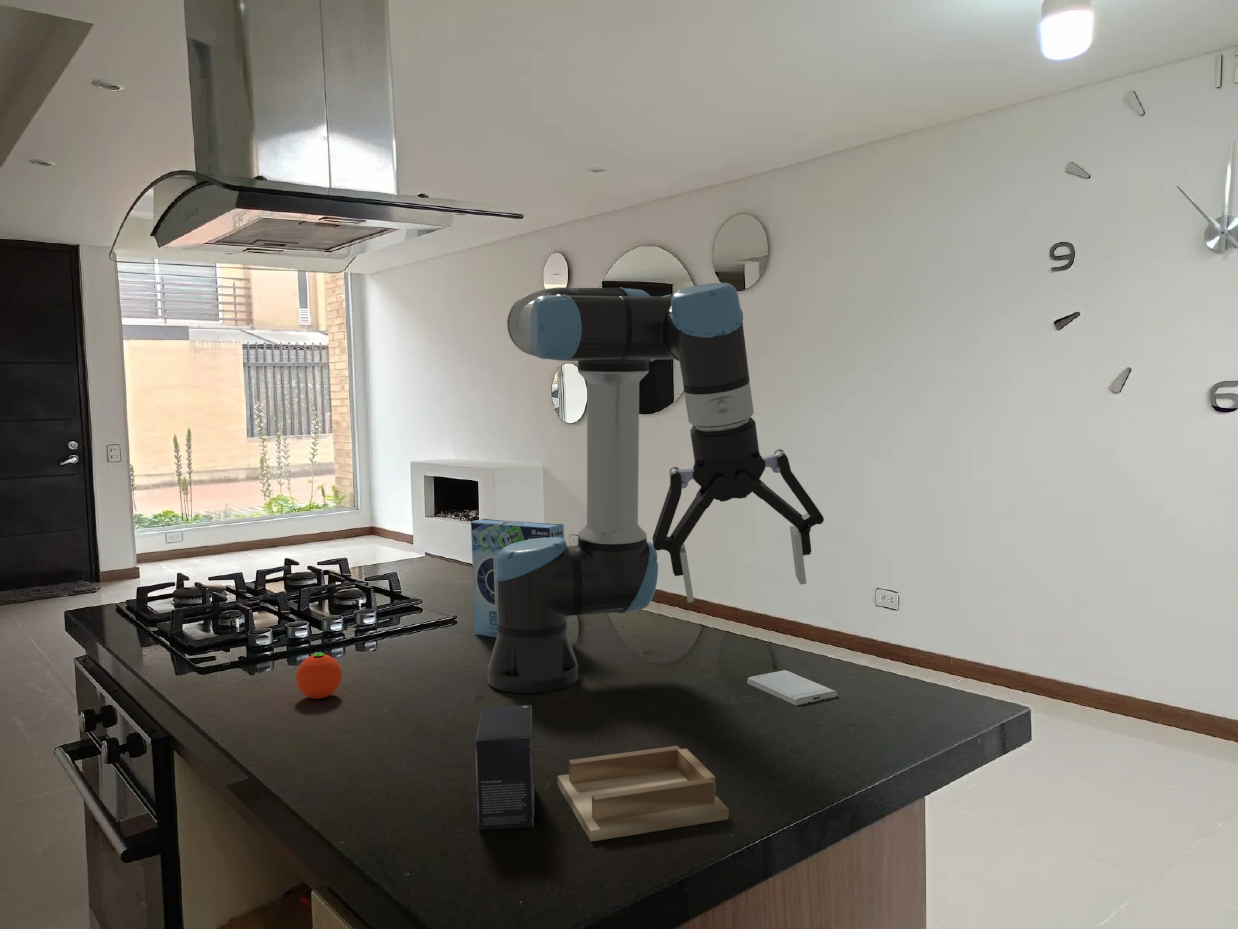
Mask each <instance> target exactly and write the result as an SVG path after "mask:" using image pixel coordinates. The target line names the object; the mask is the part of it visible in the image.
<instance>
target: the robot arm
mask: <svg viewBox="0 0 1238 929" xmlns="http://www.w3.org/2000/svg"><path fill="white" fill-rule="evenodd" d="M743 320H744V314H743V310H742V308H741V303H740V298H739V294H738V290H737V289H736V287H735V286H734V285H732V284H731V283H728V282H720V283H717V282H711V283H710V282H709V283H704V284H698V285H694V286H693V285H692V286H689V287H686V288H681V289H679V290H677V291H676V292H674V294H673V293H672V294H668V295H667V294H666V295H664V296H663V295H662V296H651V295H650V294H649V293H648V292H646V291H645V290H642V289H635V288H624V287H566V286H565V287H563V286H562V287H550V288H545V289H540V290H536V291H533V292H530V293H528V294H524V295H523V296H521V297H520V298H519V299H517V301H515V302H514V304H513V305H512V307H511V308H510V311H509V313H508V316H507V321H506V324H507V325H506V326H507V330H508V331H507V332H508V335H509V337H510V340H511V341H512V342H513V344H514V346H515V347H516V348H518V349H519V350H520V351H522V352H523V353H525V354H527V355H529V356H534V357H536V358H538V359H541V360H550V361H559V362H561V361H562V362H564V361H567V362H569V361H570V362H572V361H574V362H575V361H576V362H577V373H578V374H579V375H580V376H581V377H582V378H583V379H584V380H585V381H586V384H587V386H586V390H587V391H586V394H587V396H586V397H587V398H586V399H587V400H586V404H587V406H586V409H587V410H586V413H587V414H586V415H587V416H586V424H587V427H586V443H587V444H586V452H587V453H586V490H587V491H586V524H585V526H583V528H582V529H581V530H580V531H579V532H578V534H577V545H568V543H567V542H566V540H565V538H564V539H563V538H559V537H550V538H546V537H544V538H536V539H530V540H525V541H520V542H517V543H513V544H510V545H508V546H506V547H504V548H503V549H501V550H500V552H499V553H498V555H497V559H496V575H495V580H496V583H497V638H496V639H495V643H494V645H493V650H492V653H491V656H490V660H489V663H488V666H487V683H488V685H489V686H491V688H494V689H495V690H499V691H503V692H508V693H516V694H538V693H539V694H540V693H548V692H553V691H554V692H555V691H558V690H563V689H565V688H568V687H570V686H572V685H573V684H576V682H578V681H579V664H578V660H577V658H576V655H575V652H574V649H573V646H572V643H571V640H570V637H569V635H568V617H570V616H572V617H573V616H585V615H589V616H590V615H599V614H600V615H602V614H615V613H616V614H625V613H629V612H635V611H636V612H637V611H641V610H644V609H646V608H647V607H648V606H649V605H650V603H651V602H652V600H653V599H654V595H655V593H656V588H657V583H658V575H659V574H658V573H659V563H658V562H657V561H658V553H657V552H658V551H661V550H663V551H666V552H668V553H669V555H670V561H671V568H672V573H673V575H674V576H675V577H680V576H682V577H683V583H684V589H685V594H686V595H685V596H686V601H687V604H688V603H693V602H695V600H694V599H695V598H694V594H693V587H692V586H693V585H692V580H691V574H690V568H689V560H688V555H687V549H686V545H685V541H687V539H688V537H689V536H690V534H691V533H692V531H693V529H694V528H695V527H696V525H697V524H698V523H699V520H700V519H701V518H702V516H703V514H704V513H705V511H706V510H707V509H709V507H710V506H711V505H712V504H713V502H714V500H716V501H719V502H721V503H722V502H727V501H730V500H732V499H746V498H747V496H749V495H751V494H754V495H756V496H757V498H759V499H760V500H763V501H764V502H765V503H766V504H768V505H769V506H770V507H771V508H772V509H773V510H775V511H776V512H777V513H778V514H780V515H781V516H782V517H783V518H784V519H786V520H787V521H788V522H789V523H791V524H792V525H791V526H789V532H790V538H791V547H792V549H791V550H792V555H793V557H792V558H793V563H794V565H793V566H794V571H795V573H794V574H795V577H796V578H797V581H798V584H799V585H806V584H807V578H806V568H805V561H804V556H809V555H811V553H812V544H811V535H810V532H811V529H812V528H813V526H816V525H821V524H823V523H824V522H825V521H824V520H825V518H824V516H823V514H822V512H820V511H821V510H819V508H818V506H817V505H816V504H815V503H814V501H813V500H812V498H811V497H810V495H809V494H808V493H807V491H806V489H804V487H803V485H802V484H801V483H800V481H798V479H797V477H796V476H795V474H794V473H793V472H792V469H791V465H790V461H789V458H788V455H787V454H786V453H785V451H784V450H783V449H782V448H778V449H776V450H775V451H774V453H772V454H769V455H766V456H762V455H761V452H760V448H759V440H758V432H757V424H756V421H755V419H753V418H752V416H753V415H754V413H755V411H754V404H753V396H752V390H751V382H750V372H749V366H748V358H747V357H748V356H747V349H746V340H745V333H744V332H745V331H744V323H743ZM656 360H674V361H675V360H676V361H679V365H680V366H679V367H680V372H681V378H682V385H683V393H684V394H683V395H684V399H685V407H686V413H687V420H688V423H689V424H690V425H692V426H691V428H690V430H689V432H690V438H691V446H692V452H693V453H692V454H693V459H694V465H693V468H686V469H685V468H683V469H680V468H679V467H677V466H672V467H671V468H670V469H669V487H668V491H667V494H666V496H665V498H664V502H663V505H662V508H661V512H660V514H659V517H658V520H657V523H656V526H655V530H654V531H653V533H652V542H650V541H648V536H647V535H648V534H647V532H646V531H645V530H644V529H643V528H642V527H641V526H640V525H639V460H640V459H639V451H640V450H639V446H640V444H639V442H640V440H639V439H640V433H639V432H640V428H639V427H640V382H641V381H642V379H644V377H646V375H648V373H649V371H650V369H649V368H650V367H649V362H650V363H651V362H653V361H656ZM766 468H770V469H771V470H772V473H775V474H777V473H778V474H779V473H780V475H781V477H782V479H783V481H784V482H785V484H787V486H788V487H789V489H790V490H791V492H792V493H793V494H794V496H795V497H796V498H797V500H798V501H799V503H800V504H801V506H802V507H803V509H804V510H805V512H806V513H805V514H802V513H800V512H799V511H797V509H795V508H794V507H793V506H791V505H790V504H789V503H788V502H787V501H786V500H785V499H783V498H782V497H781V496H779V495H778V494H777V493H776V492H775V491H774V490H773V489H772V488H770V487H769V486H767V484H766V483H765V482H764V481H763V480H761V477H762V476H763V474H764V472H765V470H766ZM691 480H693V481H695V483H697V485H699V486H700V488H699V489H698V491H697V492H696V495H695V497H694V499H693V500H692V502H691V503H690V505H689V507H688V508H687V509H686V511H685V513H684V514H683V516H682V517H681V518H680V520H679V522H678V523H677V525H676V527H675V528H674V529H673V531H672V532H671V534H670V536H669V535H668V534H669V532H670V530H671V527H672V522H673V519H674V517H675V515H676V511H677V508H678V506H679V502H680V500H681V497H682V496H681V495H682V489H686V488H687V487H688V485H689V482H690V481H691Z"/></svg>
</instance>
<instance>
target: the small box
mask: <svg viewBox="0 0 1238 929" xmlns="http://www.w3.org/2000/svg"><path fill="white" fill-rule="evenodd" d="M533 733H534V732H533V706H532V704H523V705H509V706H507V705H506V706H495V707H494V706H492V707H489V706H488V707H482V708H481V710H480V715H479V722H478V727H477V732H476V736H475V737H476V738H475V778H476V779H475V781H476V784H475V785H476V803H477V804H476V807H477V823H478V824H477V825H478V830H481V831H484V830H502V829H518V828H532V827H534V826H535V812H536V811H535V807H536V806H535V802H536V790H535V788H536V785H535V784H536V782H535V766H534V765H535V764H534V736H533V735H534V734H533Z"/></svg>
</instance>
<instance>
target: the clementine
mask: <svg viewBox="0 0 1238 929" xmlns="http://www.w3.org/2000/svg"><path fill="white" fill-rule="evenodd" d="M342 676H343V673H342V667H341V666H340V664H339V662H338V661H337V660H336V659H335V658H334V657H332V656H331V655H329V654H326V653H324V652H318V653H314V654H313V655H310V656H308V657H307V658H305V659H304V660H303V661H302V662H301V663H300V664H299V666H298V668H297V671H296V676H295V679H296V686H297V687H298V689H299V691H300V692H301V693H302V694H303V695H304V696H306V697H307V698H310V699H318V700H319V699H320V700H321V699H325V698H327V697H330V696H331V695H333V693H335V692H336V691H337V689H338V688H339V687H340V684H341V682H342Z"/></svg>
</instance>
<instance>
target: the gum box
mask: <svg viewBox="0 0 1238 929" xmlns="http://www.w3.org/2000/svg"><path fill="white" fill-rule="evenodd" d="M470 527H471V528H470V530H471V532H470V536H471V554H472V555H471V557H472V559H471V560H472V582H473V583H472V585H473V586H472V587H473V590H472V591H473V609H474V610H473V611H474V612H473V613H474V616H473V617H474V634H475V635H478V636H484V637H490V638H496V639H497V583H496V580H495V575H496V559H497V555H498V553H499V552H500V550H501V549H503V548H504V547H506V546H508V545H510V544H513V543H517V542H520V541H525V540H530V539H536V538H544V537H546V538H550V537H559V538H563V539H564V540H565V527H564V524H563V523H544V522H531V521H516V520H515V521H514V520H501V519H489V518H483V519H477V520H473V521H470Z"/></svg>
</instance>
